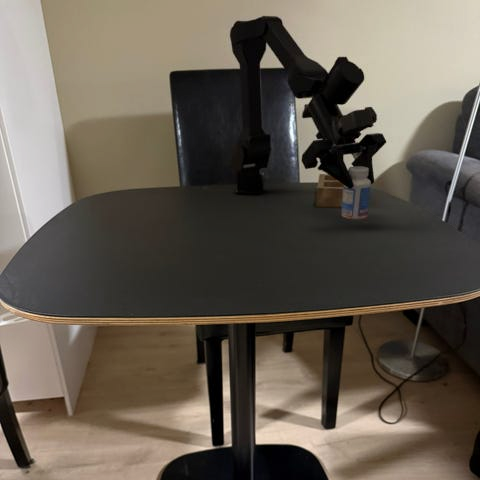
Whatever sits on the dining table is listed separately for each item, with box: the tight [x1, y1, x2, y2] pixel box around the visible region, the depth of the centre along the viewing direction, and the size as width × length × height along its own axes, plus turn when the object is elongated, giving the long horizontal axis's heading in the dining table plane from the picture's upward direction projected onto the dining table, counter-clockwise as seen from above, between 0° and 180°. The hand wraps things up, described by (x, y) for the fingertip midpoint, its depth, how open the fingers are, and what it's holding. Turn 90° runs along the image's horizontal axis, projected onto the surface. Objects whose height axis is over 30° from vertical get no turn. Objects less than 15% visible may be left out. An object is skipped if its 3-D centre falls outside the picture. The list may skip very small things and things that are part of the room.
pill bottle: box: [341, 166, 372, 220], centre depth 98 cm, size 6×5×10 cm
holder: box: [315, 173, 344, 208], centre depth 122 cm, size 9×16×4 cm, turn 170°
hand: (362, 185), depth 96 cm, fingers closed on pill bottle, 5 cm apart
